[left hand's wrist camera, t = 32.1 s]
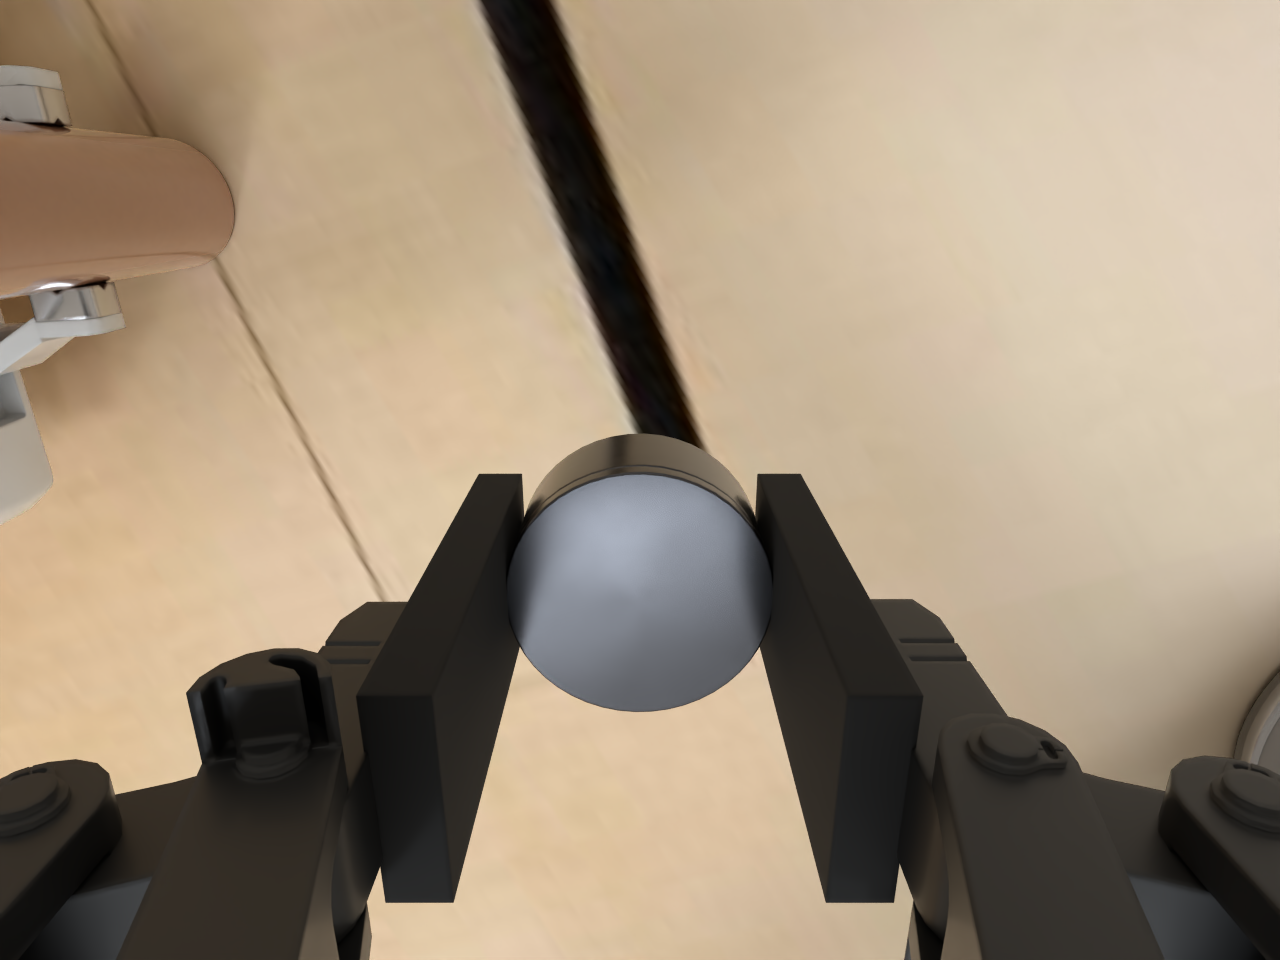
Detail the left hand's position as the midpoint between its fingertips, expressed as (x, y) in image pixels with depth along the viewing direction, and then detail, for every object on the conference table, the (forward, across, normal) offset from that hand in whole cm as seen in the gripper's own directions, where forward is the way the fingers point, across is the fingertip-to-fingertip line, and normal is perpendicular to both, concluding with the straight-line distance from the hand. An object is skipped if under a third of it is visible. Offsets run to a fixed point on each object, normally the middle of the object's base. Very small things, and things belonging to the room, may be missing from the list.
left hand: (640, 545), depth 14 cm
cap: (-2, 0, 0) cm, 2 cm away
